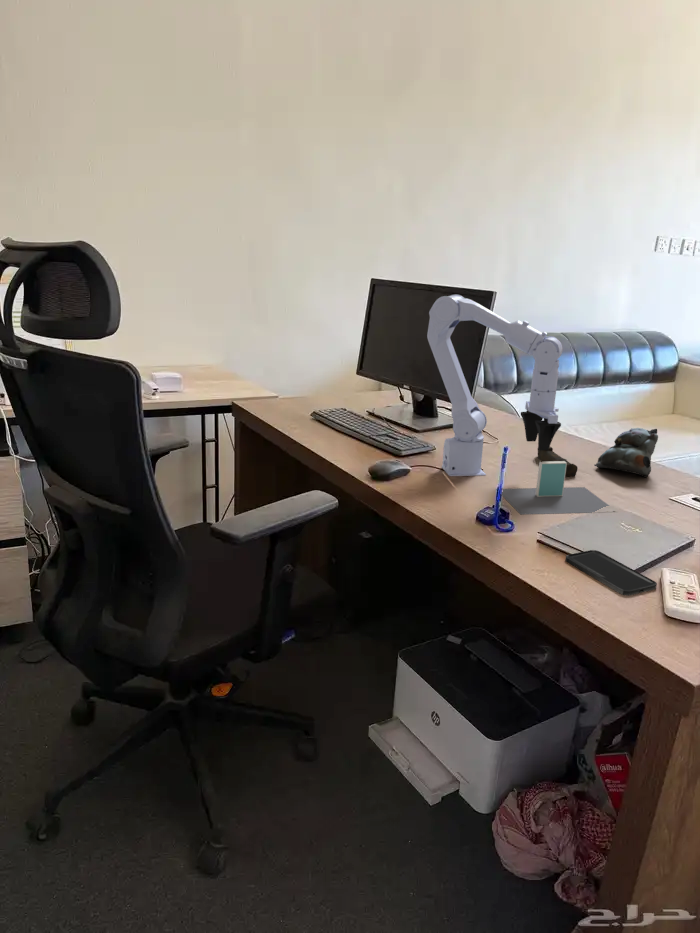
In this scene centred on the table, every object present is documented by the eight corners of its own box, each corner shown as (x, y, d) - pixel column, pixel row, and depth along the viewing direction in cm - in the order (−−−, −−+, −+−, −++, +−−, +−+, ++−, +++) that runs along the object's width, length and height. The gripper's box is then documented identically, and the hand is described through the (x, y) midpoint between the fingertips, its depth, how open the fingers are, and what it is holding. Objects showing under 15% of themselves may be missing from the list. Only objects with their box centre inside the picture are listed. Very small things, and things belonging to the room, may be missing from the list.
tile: (537, 496, 155) (541, 463, 152) (535, 494, 156) (539, 461, 153) (562, 496, 155) (567, 462, 153) (560, 494, 157) (564, 461, 154)
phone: (595, 549, 127) (660, 583, 114) (594, 554, 127) (658, 589, 115) (562, 555, 124) (625, 592, 111) (561, 561, 124) (624, 598, 111)
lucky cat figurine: (585, 465, 180) (603, 416, 181) (622, 481, 182) (640, 434, 183) (619, 466, 165) (638, 413, 166) (659, 484, 167) (678, 432, 168)
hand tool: (576, 479, 169) (579, 461, 168) (561, 479, 169) (564, 461, 167) (547, 457, 187) (549, 441, 186) (533, 457, 187) (535, 441, 185)
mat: (520, 516, 144) (520, 514, 144) (495, 490, 159) (495, 488, 159) (617, 513, 147) (617, 511, 147) (584, 488, 162) (584, 487, 162)
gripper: (573, 396, 152) (565, 454, 156) (547, 383, 166) (540, 437, 170) (543, 396, 151) (536, 454, 155) (519, 383, 165) (514, 437, 169)
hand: (537, 445), depth 163 cm, fingers open, 7 cm apart
